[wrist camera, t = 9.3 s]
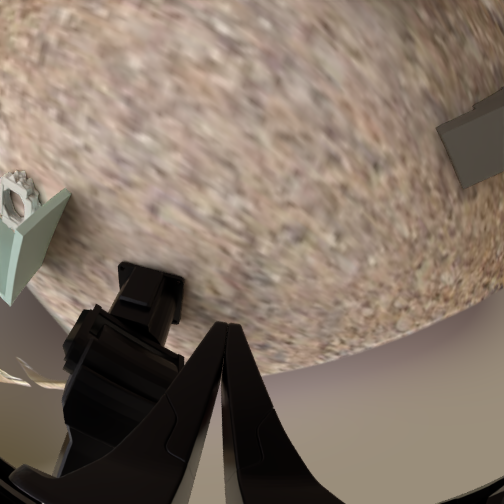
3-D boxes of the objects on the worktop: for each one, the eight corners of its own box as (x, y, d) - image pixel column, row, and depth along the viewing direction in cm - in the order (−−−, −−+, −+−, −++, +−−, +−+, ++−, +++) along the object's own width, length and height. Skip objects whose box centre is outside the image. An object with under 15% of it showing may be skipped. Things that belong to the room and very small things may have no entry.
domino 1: (463, 189, 16) (549, 149, 10) (440, 134, 14) (535, 92, 8) (458, 179, 17) (540, 141, 11) (435, 127, 15) (525, 87, 9)
